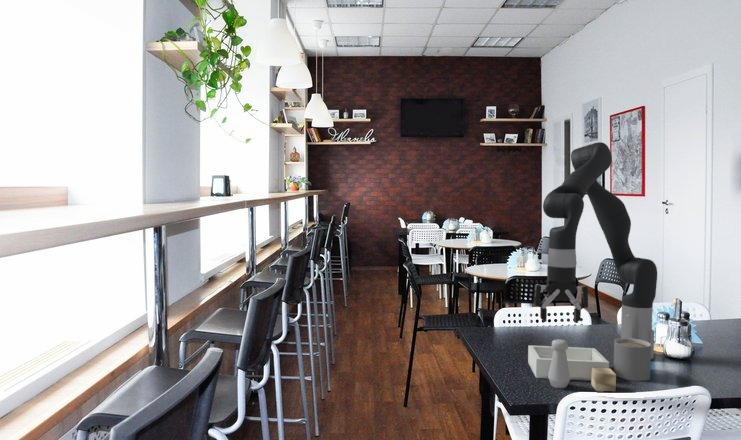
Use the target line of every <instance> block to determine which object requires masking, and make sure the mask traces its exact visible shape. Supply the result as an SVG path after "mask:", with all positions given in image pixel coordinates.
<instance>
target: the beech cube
mask: <svg viewBox="0 0 741 440" xmlns="http://www.w3.org/2000/svg"><path fill="white" fill-rule="evenodd" d="M616 383H617V376H616V374H615V373H614V372H613V370H612V369H611V368H609V369H608V368H592V379H591V381H590V384H591V386H592V387H593V388H594V390H595V391H596V392H603V391H617V389H616V386H617V385H616Z"/></svg>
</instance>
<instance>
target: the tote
mask: <svg viewBox="0 0 741 440" xmlns="http://www.w3.org/2000/svg"><path fill="white" fill-rule="evenodd" d="M527 347H528V350H527V351H528V352H527V363H528V365H529V368H530V369H531V371H532V373H533V375H534V376H535V378H537V379H549V378H548V374H549V370H550V365H551V361H552V357H553V353H554V349H553V348H552V345H551V346H549V345H528V346H527ZM566 356H567V363H568V369H569V375H570V381H574V380H575V381H590V382H591V379H592V368H608V369H610V361H608V360H607V359H606V357H604V356H603V355H602V354H601V353H600V352H599V351H598V350H597V349H596V348H593V347H575V346H573V347H572V346H568V349H567V350H566Z"/></svg>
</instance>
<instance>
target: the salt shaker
mask: <svg viewBox="0 0 741 440" xmlns="http://www.w3.org/2000/svg"><path fill="white" fill-rule="evenodd" d="M551 346H552V348H553V349H554V353H553V357H552V361H551V365H550V370H549V374H548V378H547V379H548V380H549V383H550V386H551V387H553V388H556V389H566V388H567V387H568V385H569V383H570V381H571V380H570V375H569V369H568V363H567V356H566V350H567V349H568V347H569V343H568V342H567V341H566V340H564V339H559V338H557V339H554V340H552V341H551Z"/></svg>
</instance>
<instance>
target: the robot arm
mask: <svg viewBox="0 0 741 440" xmlns="http://www.w3.org/2000/svg"><path fill="white" fill-rule="evenodd" d="M570 161H571V164H572V167H573V170H574V171H572V172H570V173H569V174H568V176H566V178H565V179H564V181H563V182H562V183H561V185H559V186H558V187H556V188H554V189H552V190H551V191H550V192H549V193H548V194H547V195H546V196H545V198H544V200H543V203H542V209H543V212H544V214H545V216H547V217H549V218H551V219H567V221H566V223H565V224H564V225H560V226H554V227H552V228H550V230H549V233H548V234H549V235H548V236H549V237H548V239H549V240H548V253H547V273H546V274H547V275H546V276H547V277H546V284H539V283H536V284H535V285H534V296H533V304H534V305H535V307H539V308H540V312H539V313H540V316H539V317H540V319H541V320H542V321H543V322H544V323H547V315H548V313H547V312H548V311H547V307H548V306H549V304H551V303H552V301H556V302H559V301H562V302H568V301H569V302H571V304H572V305H573V307H574V308H573V322H574V323H575V324H578V323H579V322H580V321H581V320H582V319H581V318H582V317H581V315H582V310H583V309H587V308H589V294H588V293H589V292H588V290H589V289H588V287H587V286H586V285H584V284H583V285H581V286H580V285H579V286H577V283H576V282H577V281H576V278H577V277H576V276H577V275H576V274H577V262H578V261H577V252H576V246H577V244H576V243H577V241H576V239H577V231H578V227H579V224H580V220H581V217H582V214H583V212H584V208H585V202H584V197H585V196H586V195H587V196H588V197H587V198H588V200H589V201H590V204H591V206H592V209H593V211H594V214H595V216H596V219H597V221H598V224H599V226H600V229H601V231H602V232H603V235H604V238H605V240H606V243H607V245H608V247H609V250H610V253H611V257H612V260H613V263H614V267H615V271H616V273H617V276H618V277H619V279H620V280H621V281H622V282H623V283H626V284H628V285H633V288H632V292H631V293H628V294H624V295H623V296H622V298H621V322H620V323H621V324H620V325H621V326H620V338H632V339H639V340H643V341H646V342H649V343H650V344H651V360H654V354H655V353H654V351H655V350H654V348H655V330H654V329H653V310H654V309H653V307H654V305H653V304H654V301H655V298H656V295H657V284H658V283H657V282H658V268H657V265H656V263H655V262H654V260H652V259H649V258H644V257H636V256H635V255H634V253H633V251H632V250H631V246H630V243H629V237H630V233H631V227H632V222H631V221H632V220H631V217H630V215H629V212H628V210H627V207H626V205H625V204H624V202H623V200H622V199H620V198H619V197H618V196H616V195H615V194H614V193H612V192H610V191H609V190H608V189H607V188H605V187H603V186H602V185H601V184H600V183H599V181H598V180H597V179H599V178H600V177H601V176H602V175H603V174H604V173H605V172H606V171H607V170H608V169H610V167H611V165H612V161H613V157H612V153H611V149H610V148H609V145H607V144H606V143H605V142H601V141H599V142H593V143H590V144H587V145H583V146H580V147H577V148H575V149H573V150H572V151H571V153H570ZM544 290H546V292H547V294H546V295H545V296H544V299H543V300H542V301H541V293H544ZM577 291H578V294H580V301H581V302H578V301H577V299H576V298H575V296H574V295H575V293H577Z"/></svg>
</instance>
